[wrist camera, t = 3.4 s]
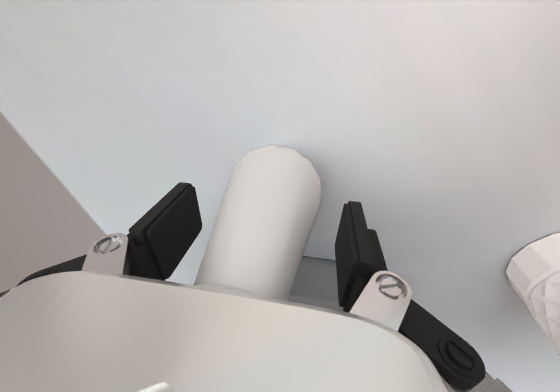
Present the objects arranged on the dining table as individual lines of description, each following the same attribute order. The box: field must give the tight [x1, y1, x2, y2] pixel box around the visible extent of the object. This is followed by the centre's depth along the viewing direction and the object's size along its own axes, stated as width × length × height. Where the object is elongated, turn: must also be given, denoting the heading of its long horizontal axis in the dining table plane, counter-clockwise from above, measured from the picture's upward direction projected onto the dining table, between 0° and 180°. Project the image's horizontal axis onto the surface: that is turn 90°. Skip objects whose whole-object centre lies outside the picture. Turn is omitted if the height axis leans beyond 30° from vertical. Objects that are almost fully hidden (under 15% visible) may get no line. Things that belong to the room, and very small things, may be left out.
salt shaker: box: [193, 145, 321, 301], centre depth 11 cm, size 6×6×13 cm
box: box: [287, 256, 343, 311], centre depth 22 cm, size 12×12×4 cm
